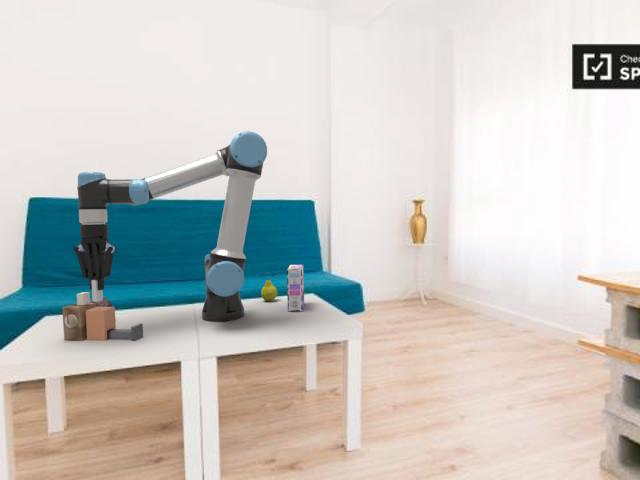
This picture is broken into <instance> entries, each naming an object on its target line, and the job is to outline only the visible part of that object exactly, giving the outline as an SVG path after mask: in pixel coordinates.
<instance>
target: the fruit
mask: <svg viewBox="0 0 640 480" xmlns="http://www.w3.org/2000/svg"><path fill="white" fill-rule="evenodd" d="M264 275H265V276H266V277H267V280H266V281H265V283H264V286H263V287H262V289H261V290H260V295H261V297H262V299H263V300H264V301H265V302H273V301H274V300H276V298H277V297H278V289H277V287H276V286H274V285H273V283H272V281H271V280H270V279H269V277H268V275H267V274H266V273H264Z"/></svg>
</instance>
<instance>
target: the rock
mask: <svg viewBox="0 0 640 480" xmlns="http://www.w3.org/2000/svg"><path fill="white" fill-rule="evenodd" d="M90 303H96V307H113V304H112V302H111V301H110V300H109V298H107V297H104V296H103V300H101V301H97V302H93V301H92V300H90Z"/></svg>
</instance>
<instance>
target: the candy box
mask: <svg viewBox="0 0 640 480" xmlns="http://www.w3.org/2000/svg"><path fill="white" fill-rule="evenodd" d="M286 273H287V274H286V278H287V279H286V280H287V281H286V285H287V287H286V288H287V289H286V290H287V292H286V294H287V312H303V311H304V306H305V283H304V282H305V277H304V275H305V274H304V264H290V265H289V266H288V268H287V269H286Z"/></svg>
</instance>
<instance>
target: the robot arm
mask: <svg viewBox="0 0 640 480" xmlns="http://www.w3.org/2000/svg"><path fill="white" fill-rule="evenodd" d="M267 156H268V146H267V143H266V141H265V139H264V138H263V137H262V136H261V135H260V134H258V133H257V132H255V131H251V130H249V131H247V130H246V131H241V132H239V133H238V134H236V135H234V136H233V138H232V139H231V142H230V144H228V145H226V146H225V147H223V148H221V149H218V150H216V151H215V154H212V155H209V156H207V157H203V158H201V159H197V160H194V161H191V162H188V163H186V164H183V165H180V166H177V167H173V168H171V169H168V170H164V171H161V172H159V173H156V174H154V175H153V174H152V175H149V176H147V177H144V178H141V179H137V178H134V179H127V178H126V179H111V178H110V179H109V178H107V177H106V174H105V173H104V172H99V171H82V172H79V173H78V174H77V187H76V188H77V197H78V221H79V222H78V223H80V225H79V236H80V237H81V240H80V243H79V245H77V246H74V247H73V251H74V252H75V254H76V256H77V260H78V265H79V267H80V268H79V269H80V270H81V275H82V278H84V279H85V278H86V279H87V280H89V290H90V291H91V296H92V297H91V299H92V300H91V301H93V302H97V301H101V300H103V297H104V295H103V292H104V290H105V279H106V278H109V277H110V276H111V272H112V266H113V262H114V261H113V260H114V254H115V252H116V251H117V246H114V245H111V244H110V241H109V239H108V237H109V225H108V224H106V223H108V205H131V206H140V205H142V204H143V205H144V204H147V203H148V202H149V201H151V200H154V199H156V198H160V197H162V196H165V195H168V194H171V193H173V192H174V193H175V192H178V191H180V190H183V189H185V188H189V187H191V186H194V185H197V184H200V183H203V182H206V181H208V180H212V179H215V178H218V177H220V176H226V177H228V180H227V181H228V183H227V188H226V193H225V199H224V204H223V210H222V213H221V214H222V215H221V219H220V220H221V221H220V226H219V231H218V232H219V233H218V238H217V243H216V244H217V245H216V247H215V248H214V249H213V250H211V251H210V253H208V254H206V255H205V256H204V269H205V270H204V273H205V274H204V275H205V299H204V304H203V306H202V310H201V319H202V320H205V321H209V322H224V321H232V320H237V319H240V318H243V317H244V316H245V308H244V307H245V306H244V305H243V302H242V299H241V296H240V292H239V291H240V290H241V289H242V287H243V284H244V282H245V274H244V272H245V267H246V262H247V261H246V260H247V257H246V255H245V254H244V252H243V251H244V245H245V240H246V239H245V238H246V236H247V235H246V234H247V229H248V224H249V219H250V212H251V206H252V201H253V196H254V190H255V186H256V182H257V181H258V180H259V179H261V178H262V172H263V167H264V162H265V161H266V160H267V159H266V158H267Z"/></svg>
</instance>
